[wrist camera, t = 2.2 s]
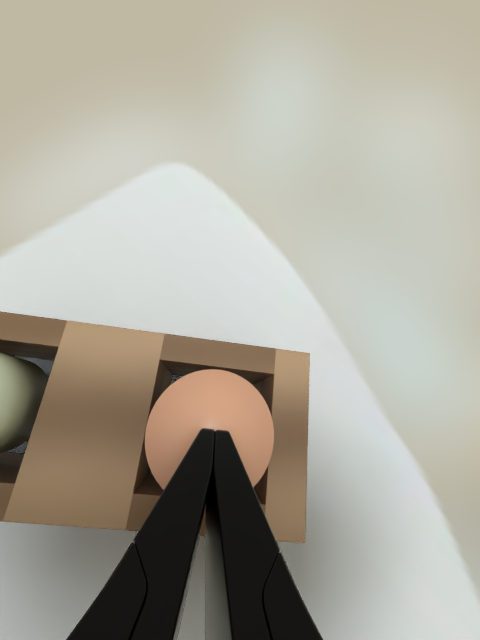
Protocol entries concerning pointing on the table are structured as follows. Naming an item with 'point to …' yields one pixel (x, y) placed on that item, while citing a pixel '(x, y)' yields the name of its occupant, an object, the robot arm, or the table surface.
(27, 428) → the pale green egg
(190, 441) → the peach orange egg
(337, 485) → the table surface
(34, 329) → the wooden compartment box
